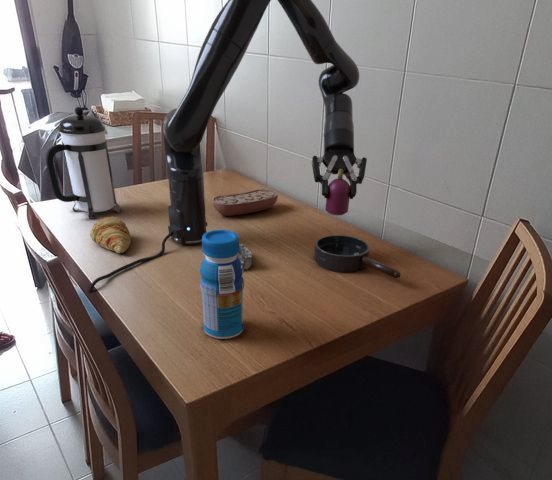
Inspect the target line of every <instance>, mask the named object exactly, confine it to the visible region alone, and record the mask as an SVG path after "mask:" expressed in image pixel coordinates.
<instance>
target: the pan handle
mask: <svg viewBox="0 0 552 480" xmlns="http://www.w3.org/2000/svg"><path fill="white" fill-rule="evenodd" d="M361 261H362V263H363V264H365V265H366V266H368V267H370V268H372V269H375V270H377V271H379V272H381V273H383V274H385V275H388V276H390V277H392V278H394V279H399V278H400V277H401V271H399V270H398V269H395V268H393V267H392V266H391V267H390V266H388V265H386V264H384V263H381V262H379V261H377V260H375V259H372V258H370V257H369V258H368V257H363V258H362V259H361Z"/></svg>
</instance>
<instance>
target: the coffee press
mask: <svg viewBox="0 0 552 480" xmlns="http://www.w3.org/2000/svg"><path fill="white" fill-rule="evenodd" d="M74 113H75V114H76V115H71V116H66V117H64V118H63V119H61V120H60V122H59V126H58V128H57V129H58V132H59V134H60V137H61V144H55V145H52V146H51V147H49V149H48V150H47V152H46V155H45V164H46V165H45V166H46V171H47V174H48V179H49V183H50V187H51V190H52V193H53V195H54V197H55V198H56V199H58V200H59V201H61V202H64V203H72V202H74V205H73V207H72V211H73V212H74V213H75V212H78V211H79V210H80V211H82V212H86V213H88V214H87V215H88V216H87V217H88V219H89V220H95V215H96V213H101V212H106V211H109V210H114V211H115V212H116V213H120V212H121V211H122V206H120V204H119V203H118V202H117V198H116V197H117V196H116V191H115V185H114V179H113V172H112V166H111V161H110V153H109V149H108V141H107V138H106V135H108V134H109V133H108V130H107V129H106V126H105V125H104V124H103V121H102V120H101V119H99V118H98V117H96V116H92V115H83V114H84V110H83V108H82V107H81V106H77V107H75V109H74ZM62 151H63V153H64V157H65V161H66V167H67V171H68V175H69V181H70V187H71V190H72V194H71V195H63V194H62V192H61V190H60V186H59V182H58V178H57V173H56V169H55V164H54V158H55V155H57V153H60V152H62ZM115 206H116V207H117V208H118V209H117V208H116V207H115ZM75 207H76V208H77V209H76V208H75Z"/></svg>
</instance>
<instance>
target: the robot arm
mask: <svg viewBox="0 0 552 480" xmlns="http://www.w3.org/2000/svg"><path fill="white" fill-rule="evenodd" d="M271 1H272V0H227V1H226V2H225V4H224V5H223V6H222V8H221V9H220V11H219V12H218V14H217V15H216V16H215V18H214V20H213V22H212V24H211V25H210V28H209V29H208V31H207V34H206V35H205V38H204V41H203V42H202V44H201V47H200V50H199V52H198V56H197V59H196V63H195V65H194V69H193V72H192V77H191V80H190V83H189V85H188V88H187V90H186V92H185V94H184V96H183V97H182V99H181V101H180V103H179V105H178V106H177V108H173V109H170V111H169V112H167V114H166V115H165V117H164V118H163V123H162V133H163V134H162V135H163V144H164V145H163V146H164V151H165V152H164V153H165V164H166V169H167V177H168V178H167V179H168V187H169V188H168V189H169V199H170V204H169V205H168V206H167V211H168V222H169V225H168V226H167V228H168V229H167V230H168V234H167V235H166V236H165V237H164V238H163V240H162V242H161V250H160V252H158V253H157V254H154V255H153V256H149V257H144V258H139V259H136V260H134V261H132V262H129V263H127V264H125V265H122V266H120V267H118V268H117V269H115V270H113V271H111V272H109V273H106V274H104V275H102V276H99V277H97V278H95V279H94V280H93V281H92V282H91V284H90V285H89V287H88V289H87V294H90V293H92V292H93V289H94V288H95V286H96V285H97V283H99V282H100V281H103V280H105V279H108V278H110V277H112V276H115V275H116V274H118V273H120V272H122V271H124V270H126V269H128V268H130V267H134V266H135V265H137V264H140V263H144V262H148V261H151V260H154V259H157V258H159V257H161V256H162V255H163V254H164V253H165V250H166V243H167V240H168V239H171V240H172V241H173V242H176V243H177V244H179V245H180V246H187V245H188V246H189V245H191V246H192V245H199V244H202V236H203V235H204V234H205V233H207V232H208V231H207V227H208V222H207V218H206V217H207V216H206V215H207V214H206V198H205V196H206V195H205V179H204V178H205V177H204V164H203V160H202V151H201V150H202V149H201V143H202V142H203V139H204V136H205V133H206V131H207V128H208V124H209V123H210V120H211V118H212V115H213V112H214V111H215V108H216V106H217V104H218V103H219V100H220V99H221V97H222V96H223V95H224V93H225V91H226V89H227V87H228V86H229V84H230V83H231V80H232V79H233V77H234V75H235V73H236V72H237V70H238V68H239V66H240V64H241V62H242V60H243V58H244V56H245V54H246V52H247V51H248V48H249V46H250V43H251V42H252V40H253V37H254V36H255V33H256V32H257V30H258V28H259V25H260V23H261V21H262V19H263V16H264V14H265V12H266V10H267V8H268V6H269V4H270V3H271ZM277 2H278V3H279V5H280V6H281V8H282V9H283V11H284V13H285V14H286V16H287V18H288V19H289V21H290V23H291V24H292V26H293V28H294V30H295V32H296V33H297V36H298V37H299V39H300V41H301V43H302V45H303V46H304V49H305V50H306V52H307V54H308V55H309V57H310V60H311V61H312V62H313V63H314V64H315V65H323V64H331V65H330V66H328V67H326V68H325V69H323V70H321V72H320V74H319V76H318V81H317V82H318V88H319V90H320V93H321V96H322V100H323V104H324V126H323V129H324V130H323V155H322V156H320V157H318V156H317V155H313V156H312V159H311V167H312V168H311V169H312V173H313V174H312V175H313V179H314V182H315V183H319V184H321V195H322V197H324V199H326V198H327V197H328V185H329V179H330V177H331V176H332V175H338V170H339V169H343V176H345V177H346V179H347V181H348V183H349V185H350V199H349V200H353V199H354V197H356V195H357V191H358V190H357V189H358V188H357V185H358V184H359V185H361V184H363V181H364V179H365V174H366V167H367V162H368V158H367V157H366V156H365V157H364V156H363V157H362V158H357V156H356V155H355V133H354V132H355V127H354V120H353V118H354V117H353V114H354V113H353V100H352V97H351V96H350V95H349V94H347V93H346V92H348V91H350V90H352V89H354V88H355V87H356V86H358V84H359V81H360V70H359V68H358V66H357V63H356V62H355V60H353V58H352V57H351V56H350V55H349V54H348V53H347V52H346V51H345V50H344V49H343V48H342V47H341V45H340V44H339V43H338V42H337V40H336V38H335V37H334V35H333V33H332V30H331V29H330V26H329V24H328V23H327V21H326V19H325V17H324V16H323V14H322V13H321V11H320V9H319V8H318V7H317V6H316V4H315V3H314V2H313V1H312V0H277ZM321 164H323V165H324V167H325V168H326V169H325V172H324V173H323V175H322V174H321V171H320V167H321ZM355 164H356V167H357V169H358V176H357V175H356V173H355V170H354V168H353V167H354V166H355Z"/></svg>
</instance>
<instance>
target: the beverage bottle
mask: <svg viewBox="0 0 552 480" xmlns="http://www.w3.org/2000/svg"><path fill="white" fill-rule="evenodd" d="M239 245H240V236H239V234H238V233H237V232H235V231H232V230H228V229H213V230H209V231H207V232H206V233H205V234H204V235H203V236H202V243H201V248H202V254H203V255H204V256H205V257H204V258H203V259H202V262H201V263H200V267H199V273H200V276H201V277H200V279H199V287H200V290H201V302H202V317H203V318H202V319H203V330H204V333H205V334H206V335H208V336H209V337H211V338H214V339H220V340H229V339H232V338H236V337H238V336H240V335H241V334H242V333H243V331H244V329H245V324H244V323H245V321H244V288H245V279H244V277H243V274H244V269H243V266H242V263H241V261H240V260H239V258H238V257H237V255H238V253H239Z"/></svg>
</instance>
